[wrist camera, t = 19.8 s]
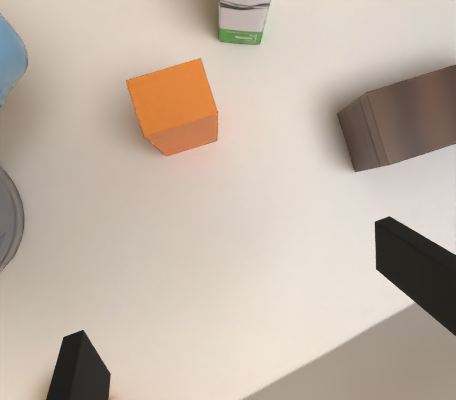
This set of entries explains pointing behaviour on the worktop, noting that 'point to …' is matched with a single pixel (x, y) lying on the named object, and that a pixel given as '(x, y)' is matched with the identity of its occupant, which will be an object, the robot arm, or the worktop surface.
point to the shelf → (401, 120)
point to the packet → (175, 107)
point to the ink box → (242, 20)
